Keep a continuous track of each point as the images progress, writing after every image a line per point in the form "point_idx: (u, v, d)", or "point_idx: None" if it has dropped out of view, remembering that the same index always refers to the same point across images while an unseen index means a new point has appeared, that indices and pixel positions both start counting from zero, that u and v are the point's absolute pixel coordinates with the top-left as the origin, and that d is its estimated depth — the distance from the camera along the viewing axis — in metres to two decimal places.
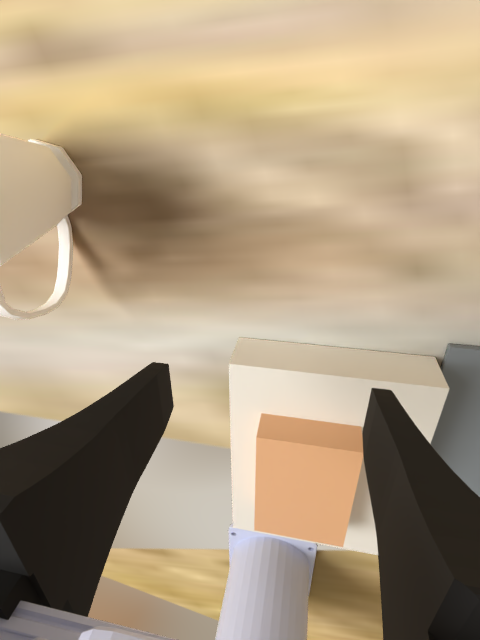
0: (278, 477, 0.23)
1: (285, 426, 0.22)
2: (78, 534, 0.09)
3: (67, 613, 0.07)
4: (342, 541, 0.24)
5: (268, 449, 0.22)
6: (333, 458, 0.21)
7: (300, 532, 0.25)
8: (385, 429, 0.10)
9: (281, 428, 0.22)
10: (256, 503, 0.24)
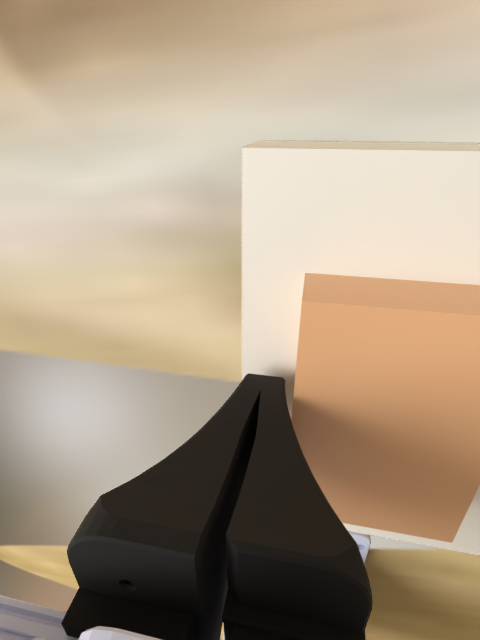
0: (340, 400, 0.11)
1: (361, 287, 0.10)
2: (220, 564, 0.08)
3: (67, 613, 0.07)
4: (453, 531, 0.13)
5: (327, 332, 0.10)
6: (476, 343, 0.09)
7: (371, 515, 0.13)
8: None
9: (352, 289, 0.10)
10: None
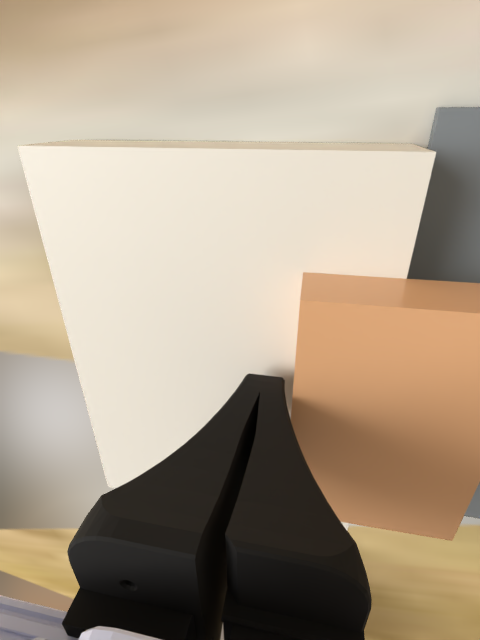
0: (340, 399, 0.11)
1: (359, 286, 0.10)
2: (221, 564, 0.08)
3: (67, 613, 0.07)
4: (453, 529, 0.13)
5: (325, 331, 0.10)
6: (474, 340, 0.09)
7: (371, 514, 0.13)
8: None
9: (350, 288, 0.10)
10: None
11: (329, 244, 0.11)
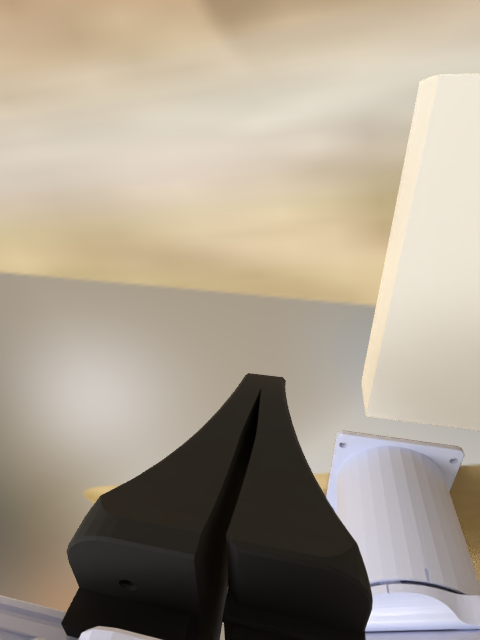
0: None
1: None
2: (220, 564, 0.08)
3: None
4: None
5: None
6: None
7: None
8: None
9: None
10: None
11: None
